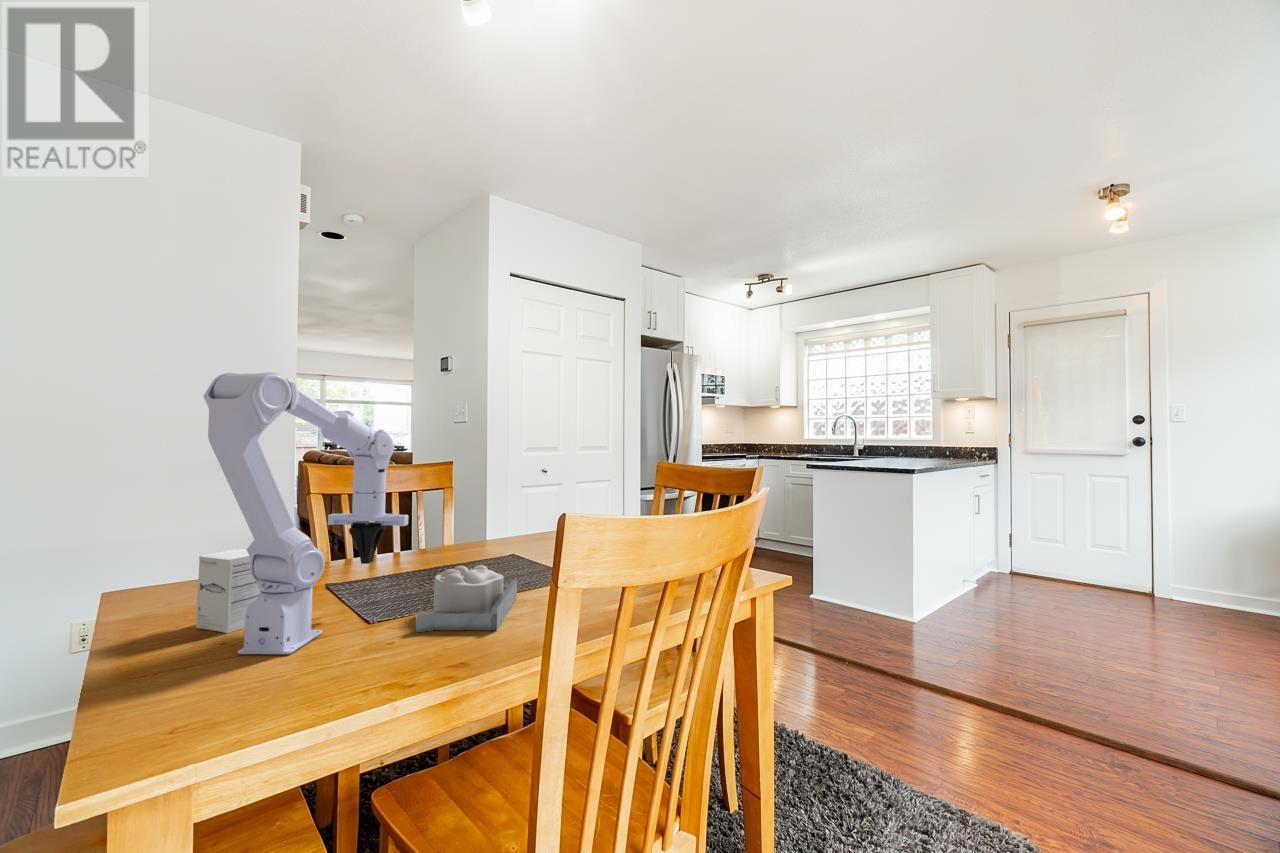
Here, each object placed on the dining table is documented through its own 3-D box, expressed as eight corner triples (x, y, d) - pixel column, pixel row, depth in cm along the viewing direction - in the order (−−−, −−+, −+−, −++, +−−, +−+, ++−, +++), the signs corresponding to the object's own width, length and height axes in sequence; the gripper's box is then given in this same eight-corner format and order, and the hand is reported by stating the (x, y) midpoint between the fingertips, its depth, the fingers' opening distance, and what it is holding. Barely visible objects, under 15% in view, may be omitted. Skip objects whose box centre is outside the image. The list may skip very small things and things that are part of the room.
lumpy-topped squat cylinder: (473, 628, 96) (475, 579, 97) (418, 617, 101) (420, 571, 102) (509, 611, 106) (510, 567, 106) (457, 602, 111) (458, 560, 111)
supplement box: (194, 629, 93) (197, 555, 93) (237, 616, 100) (240, 547, 100) (225, 634, 91) (228, 559, 91) (267, 620, 98) (270, 550, 98)
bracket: (495, 633, 94) (495, 610, 94) (412, 633, 93) (413, 609, 93) (517, 597, 115) (518, 578, 115) (451, 596, 114) (451, 577, 114)
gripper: (415, 490, 108) (413, 558, 108) (342, 489, 108) (340, 557, 108) (400, 494, 101) (398, 566, 101) (322, 492, 101) (320, 565, 101)
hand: (367, 562), depth 104 cm, fingers closed
